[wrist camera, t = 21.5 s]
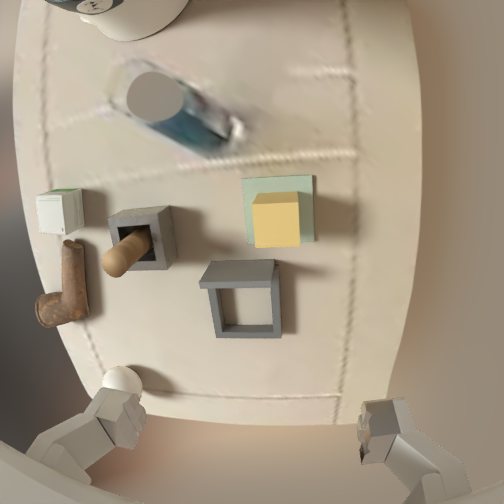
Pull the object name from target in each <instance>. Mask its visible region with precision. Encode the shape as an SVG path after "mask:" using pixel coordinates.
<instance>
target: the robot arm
mask: <svg viewBox="0 0 504 504" xmlns="http://www.w3.org/2000/svg"><path fill="white" fill-rule="evenodd" d="M45 1H47V2H48V3H50V4H52V5H54V6H58V7H60V8H63V9H65V10H68V11H72V12H74V13H76V14H78V15H79V16H80V19H81V20H82V21H84V22H86V23H88V24H92V25H95V26H96V27H97V28H98V29H99V30H100V31H102V32H103V33H104V34H105V35H106V36H108V37H109V38H112V39H114V40H119V41H132V40H138V39H141V38H144V37H147V36H149V35H152V34H154V33H156V32H157V31H159V30H161V29H162V28H164V27H165V26H167V25H168V24H169V23H170V22H172V21H173V20H174V19H175V18H176V17H177V16H178V15H179V14H180V12H181V11H182V10H183V9H184V7H185V6H186V4H187V3H188V1H189V0H45ZM139 401H140V398H139V396H138V394H135V393H131V392H126V391H121V390H117V389H112V388H107V387H102V388H100V390H99V391H98V392H97V394H96V395H95V397H94V398H93V400H92V402H91V403H90V404H89V406H88V407H87V409H86V411H85V412H84V413H80V414H78V415H76V416H74V417H72V418H70V419H68V420H66V421H64V422H62V423H61V424H59V425H57V426H55V427H53V428H51V429H49V430H47V431H45V432H43V433H41V434H39V435H38V436H37V438H36V439H35V441H34V442H33V444H32V445H31V447H30V448H29V450H28V451H27V452H26V454H25V455H24V454H22V453H21V452H19V451H17V450H15V449H14V448H11V447H10V446H9V445H7V444H5V443H4V442H2V441H0V504H146V503H142V502H139V501H135V500H132V499H128V498H125V497H122V496H119V495H115V494H113V493H110V492H107V491H104V490H101V489H99V488H96V487H93V486H91V485H89V484H90V482H91V478H90V477H89V476H88V474H87V473H86V472H85V471H84V470H85V469H86V468H88V467H89V466H90V465H92V464H93V463H94V462H96V461H97V460H98V459H100V458H101V457H102V456H103V455H105V454H106V453H108V452H109V451H110V450H112V449H113V448H114V447H115V446H118V447H123V448H127V449H132V450H133V449H134V448H135V445H136V443H137V441H138V439H139V436H138V432H140V431H141V430H143V428H144V426H145V424H146V411H145V409H144V407H143V406H142V405H140V404H139ZM361 413H362V414H361V415H360V416H359V418H358V425H357V433H358V434H357V435H358V440H359V441H360V442H361V447H360V458H361V465H364V464H373V463H383V462H385V465H386V466H387V467H388V468H389V469H390V470H391V471H392V472H393V474H394V475H395V476H396V477H397V478H398V479H399V480H400V481H401V482H402V483H403V485H404V486H405V487H406V488H407V489H408V490H409V491H410V492H411V493H410V495H409V496H408V497H407V498H406V500H405V501H404V502H403V504H504V480H502V481H500V482H497V483H495V484H493V485H490V486H488V487H485V488H482V489H480V490H477V491H474V492H472V490H471V487H470V483H469V480H468V477H467V474H466V470H465V467H464V464H463V463H462V462H460V461H459V460H458V459H457V458H455V457H454V456H453V455H451V454H450V453H448V452H447V451H446V450H444V449H443V448H442V447H441V446H439V445H438V444H437V443H436V442H434V441H433V440H431V439H430V438H429V437H428V436H426V435H425V434H424V433H423V432H421V431H416V429H415V426H414V422H413V419H412V416H411V413H410V409H409V407H408V403H407V400H406V398H405V397H397V398H391V399H390V398H388V399H380V400H371V401H363V403H362V405H361Z"/></svg>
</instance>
